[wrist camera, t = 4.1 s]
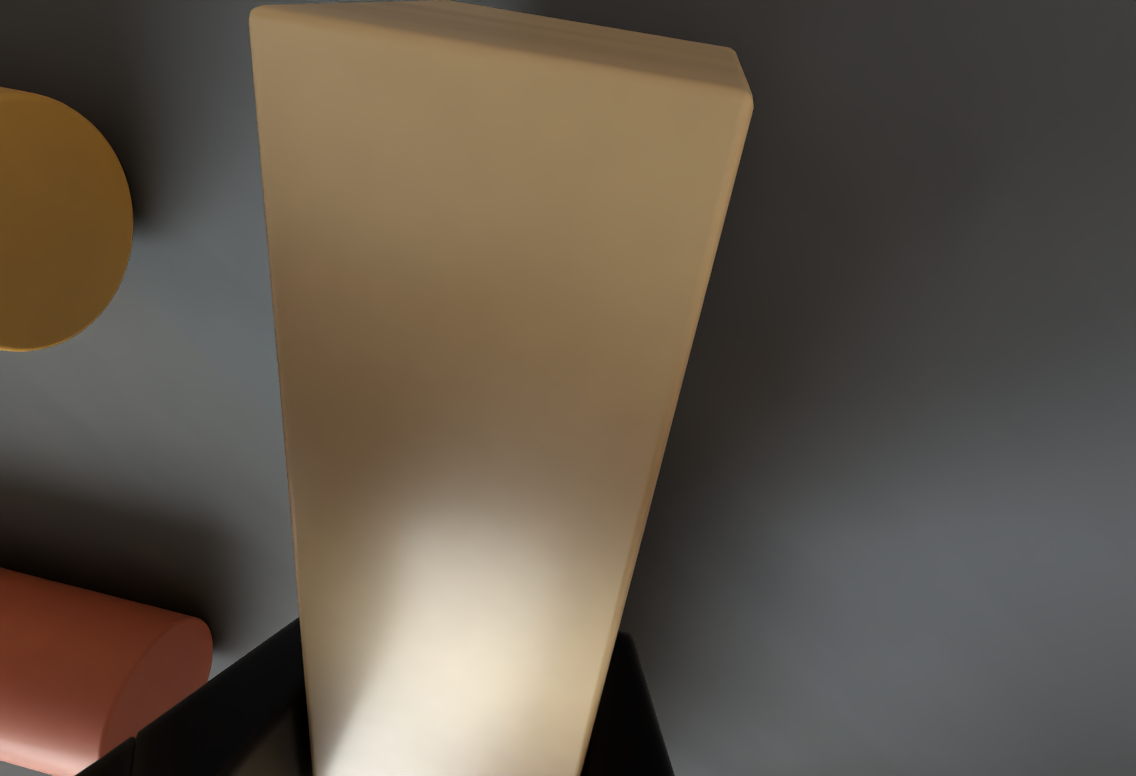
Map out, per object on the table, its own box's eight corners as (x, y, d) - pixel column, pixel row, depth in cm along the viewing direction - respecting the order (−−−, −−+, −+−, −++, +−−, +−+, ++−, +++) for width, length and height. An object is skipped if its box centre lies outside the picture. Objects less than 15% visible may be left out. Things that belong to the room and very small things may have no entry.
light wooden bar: (548, 845, 14) (504, 1070, 11) (409, 808, 15) (330, 1017, 12) (738, 47, 7) (760, 91, 4) (441, -2, 7) (240, 3, 4)
